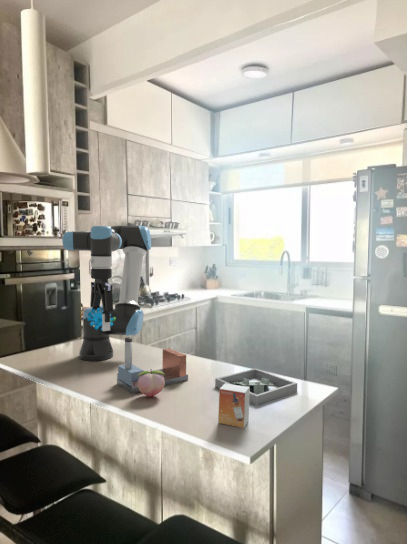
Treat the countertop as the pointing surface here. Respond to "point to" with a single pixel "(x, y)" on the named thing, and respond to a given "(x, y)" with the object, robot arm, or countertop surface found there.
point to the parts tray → (261, 398)
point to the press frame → (165, 370)
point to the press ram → (128, 365)
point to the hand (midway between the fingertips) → (101, 328)
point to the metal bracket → (255, 384)
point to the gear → (98, 318)
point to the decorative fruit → (151, 382)
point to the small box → (234, 405)
